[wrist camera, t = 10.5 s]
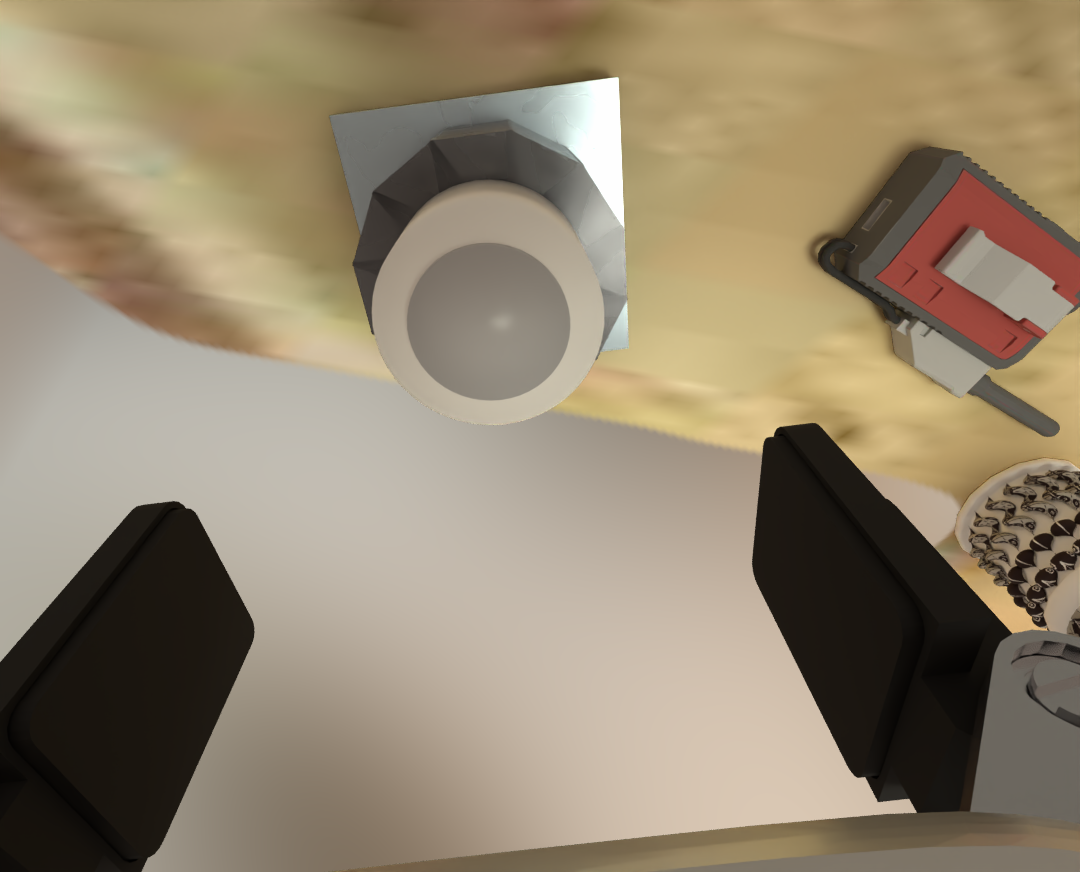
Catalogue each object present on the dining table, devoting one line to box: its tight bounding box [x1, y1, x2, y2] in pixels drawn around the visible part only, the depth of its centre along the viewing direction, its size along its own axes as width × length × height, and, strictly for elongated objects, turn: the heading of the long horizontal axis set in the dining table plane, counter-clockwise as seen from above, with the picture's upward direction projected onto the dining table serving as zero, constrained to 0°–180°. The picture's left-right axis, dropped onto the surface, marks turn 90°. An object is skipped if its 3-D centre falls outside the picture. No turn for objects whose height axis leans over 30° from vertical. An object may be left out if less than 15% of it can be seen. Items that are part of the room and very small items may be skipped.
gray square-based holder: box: [329, 77, 629, 360], centre depth 26 cm, size 12×12×8 cm
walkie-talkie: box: [818, 147, 1080, 437], centre depth 30 cm, size 9×4×20 cm
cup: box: [372, 179, 604, 425], centre depth 22 cm, size 7×7×8 cm
